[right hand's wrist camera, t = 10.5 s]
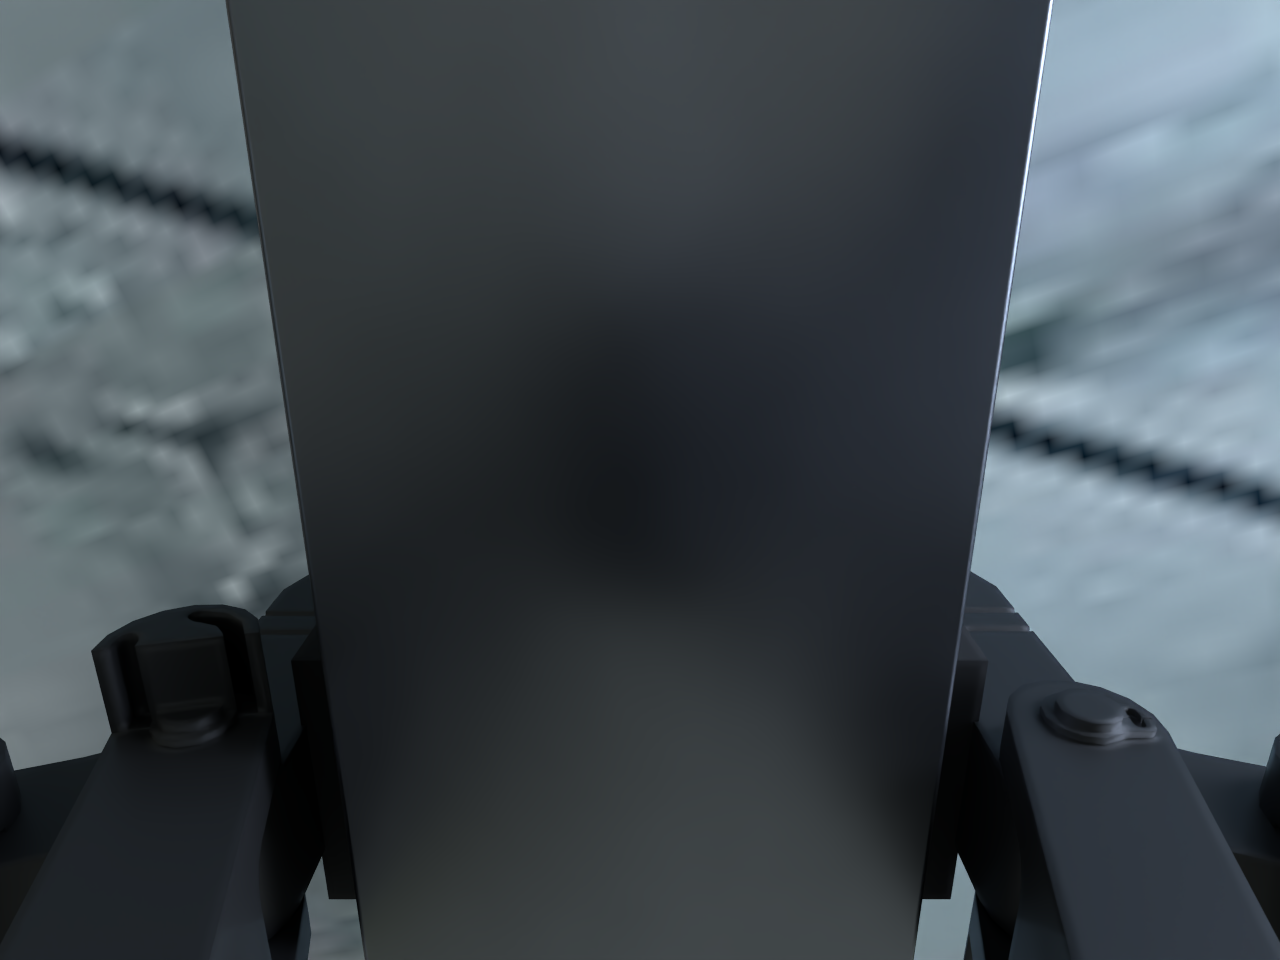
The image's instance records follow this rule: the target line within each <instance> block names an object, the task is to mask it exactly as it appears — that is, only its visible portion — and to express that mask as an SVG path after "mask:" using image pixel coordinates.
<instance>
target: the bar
mask: <svg viewBox="0 0 1280 960" xmlns="http://www.w3.org/2000/svg"><path fill="white" fill-rule="evenodd" d="M1053 2H1054V0H226V7H227V14H228V21H229V28H230V34H231V41H232V48H233V55H234V62H235V69H236V76H237V83H238V90H239V96H240V103H241V110H242V117H243V124H244V131H245V138H246V145H247V151H248V158H249V165H250V172H251V179H252V186H253V193H254V200H255V207H256V213H257V220H258V227H259V234H260V241H261V248H262V255H263V262H264V268H265V275H266V282H267V289H268V296H269V303H270V310H271V317H272V324H273V330H274V337H275V344H276V351H277V358H278V365H279V372H280V379H281V385H282V392H283V399H284V406H285V413H286V420H287V427H288V434H289V441H290V447H291V454H292V461H293V468H294V475H295V482H296V489H297V496H298V502H299V509H300V516H301V523H302V530H303V537H304V544H305V551H306V558H307V564H308V571H309V578H310V585H311V592H312V599H313V606H314V613H315V620H316V626H317V633H318V640H319V647H320V654H321V661H322V668H323V675H324V681H325V688H326V695H327V702H328V709H329V716H330V723H331V730H332V737H333V743H334V750H335V757H336V764H337V771H338V778H339V785H340V792H341V798H342V805H343V812H344V819H345V826H346V833H347V840H348V847H349V854H350V860H351V867H352V874H353V881H354V888H355V895H356V902H357V909H358V915H359V922H360V929H361V936H362V943H363V950H364V957H365V960H913V959H914V952H915V946H916V939H917V932H918V925H919V918H920V911H921V905H922V898H923V891H924V884H925V877H926V870H927V863H928V857H929V850H930V843H931V836H932V829H933V822H934V816H935V809H936V802H937V795H938V788H939V781H940V775H941V768H942V761H943V754H944V747H945V740H946V734H947V727H948V720H949V713H950V706H951V699H952V693H953V686H954V679H955V672H956V665H957V658H958V652H959V645H960V638H961V631H962V624H963V617H964V610H965V604H966V597H967V590H968V583H969V576H970V569H971V563H972V556H973V549H974V542H975V535H976V528H977V522H978V515H979V508H980V501H981V494H982V487H983V481H984V474H985V467H986V460H987V453H988V446H989V440H990V433H991V426H992V419H993V412H994V405H995V398H996V392H997V385H998V378H999V371H1000V364H1001V357H1002V351H1003V344H1004V337H1005V330H1006V323H1007V316H1008V310H1009V303H1010V296H1011V289H1012V282H1013V275H1014V269H1015V262H1016V255H1017V248H1018V241H1019V234H1020V228H1021V221H1022V214H1023V207H1024V200H1025V193H1026V187H1027V180H1028V173H1029V166H1030V159H1031V152H1032V145H1033V139H1034V132H1035V125H1036V118H1037V111H1038V104H1039V98H1040V91H1041V84H1042V77H1043V70H1044V63H1045V57H1046V50H1047V43H1048V36H1049V29H1050V22H1051V16H1052V9H1053Z"/></svg>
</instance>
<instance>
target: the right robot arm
mask: <svg viewBox="0 0 1280 960" xmlns="http://www.w3.org/2000/svg"><path fill="white" fill-rule="evenodd" d="M91 652H92V656H93V660H94V664H95V668H96V672H97V676H98V680H99V684H100V688H101V692H102V696H103V700H104V704H105V708H106V712H107V716H108V720H109V724H110V728H111V732H112V734H111V736H110V738H109V739H108V741H107V743H106V745H105V747H104V749H103V751H102V753H99V754H95V755H91V756H87V757H83V758H77V759H72V760H67V761H62V762H57V763H52V764H46V765H41V766H36V767H31V768H26V769H20V770H15V771H14V769H13V766H12V763H11V759H10V756H9V753H8V749H7V746H6V743H5V741H3V740H2V739H1V738H0V960H308V953H309V946H310V938H311V928H310V921H309V913H308V907H307V902H306V896H305V892H306V890H307V888H308V885H309V883H310V881H311V879H312V877H313V874H314V872H315V870H316V868H317V866H318V863H319V861H320V859H321V857H322V859H323V865H324V871H325V877H326V884H327V890H328V896H329V899H356V895H355V888H354V881H353V874H352V867H351V860H350V854H349V847H348V840H347V833H346V826H345V819H344V812H343V805H342V798H341V792H340V785H339V778H338V771H337V764H336V757H335V750H334V743H333V737H332V730H331V723H330V716H329V709H328V702H327V695H326V688H325V681H324V675H323V668H322V661H321V654H320V647H319V640H318V633H317V626H316V620H315V613H314V606H313V599H312V592H311V585H310V578H309V575H307V576H306V577H304V578H302V579H301V580H299V581H297V582H296V583H294V584H292V585H291V586H289V587H287V588H286V589H284V590H283V591H282V592H281V594H280V595H279V596H278V597H277V598H276V600H275V601H274V602H273V603H272V605H271V606H270V607H269V608H268V609H267V611H266V616H262V617H261V618H260V619H259V620H258V619H257V618H256V617H255V616H253V615H252V614H251V613H249V612H248V611H247V610H245V609H241V608H236V607H232V606H227V605H193V606H187V607H182V608H176V609H171V610H165V611H161V612H158V613H156V614H153V615H150V616H147V617H144V618H141V619H138V620H135V621H132V622H131V623H129V624H127V625H125V626H123V627H121V628H120V629H118V630H116V631H114V632H112V633H110V634H109V635H107V636H106V637H105V638H104V639H103V640H102V641H101V642H100V643H99V644H98V645H97V646H96V647H95V648H94V649H93V650H91ZM958 854H959V856H960V858H961V860H962V862H963V865H964V867H965V869H966V871H967V873H968V875H969V878H970V880H971V882H972V884H973V886H974V889H975V896H974V902H973V907H972V913H971V919H970V925H969V931H968V937H967V942H966V948H965V954H964V960H1280V734H1279V735H1278V736H1277V737H1275V740H1274V743H1273V747H1272V750H1271V753H1270V757H1269V760H1268V763H1267V767H1265V766H1260V765H1255V764H1250V763H1245V762H1239V761H1234V760H1229V759H1224V758H1218V757H1213V756H1208V755H1203V754H1198V753H1193V752H1189V751H1185V750H1181V749H1177V747H1176V745H1175V744H1174V742H1173V740H1172V738H1171V736H1170V734H1169V732H1168V731H1167V730H1166V729H1165V728H1164V726H1163V725H1162V724H1161V723H1160V722H1159V720H1158V719H1157V718H1156V717H1155V716H1154V715H1153V714H1152V713H1150V712H1149V711H1147V710H1146V709H1144V708H1143V707H1141V706H1140V705H1138V704H1136V703H1135V702H1133V701H1132V700H1130V699H1129V698H1126V697H1124V696H1121V695H1119V694H1116V693H1114V692H1111V691H1109V690H1106V689H1104V688H1101V687H1097V686H1092V685H1088V684H1083V683H1078V682H1075V681H1074V680H1073V679H1072V678H1071V676H1070V675H1069V674H1068V673H1067V672H1066V670H1065V669H1064V668H1063V667H1062V666H1061V664H1060V663H1059V662H1058V661H1057V660H1056V658H1055V657H1054V656H1053V655H1052V654H1051V652H1050V651H1049V650H1048V649H1047V647H1046V646H1045V645H1044V644H1043V643H1042V641H1041V640H1040V639H1039V638H1038V637H1037V635H1036V634H1035V633H1034V632H1033V631H1029V626H1028V624H1027V623H1026V622H1025V621H1024V620H1023V618H1022V617H1021V616H1020V615H1019V614H1018V613H1014V608H1013V606H1012V605H1011V604H1010V603H1009V602H1008V600H1007V599H1006V598H1005V597H1004V595H1003V594H1002V593H1001V592H1000V591H999V589H998V588H997V587H996V586H994V585H993V584H991V583H989V582H988V581H986V580H984V579H983V578H981V577H979V576H977V575H976V574H974V573H972V572H971V571H970V576H969V583H968V590H967V597H966V604H965V610H964V617H963V624H962V631H961V638H960V645H959V652H958V658H957V665H956V672H955V679H954V686H953V693H952V699H951V706H950V713H949V720H948V727H947V734H946V740H945V747H944V754H943V761H942V768H941V775H940V781H939V788H938V795H937V802H936V809H935V816H934V822H933V829H932V836H931V843H930V850H929V857H928V863H927V870H926V877H925V884H924V891H923V898H922V899H951V892H952V886H953V880H954V874H955V867H956V861H957V855H958Z"/></svg>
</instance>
